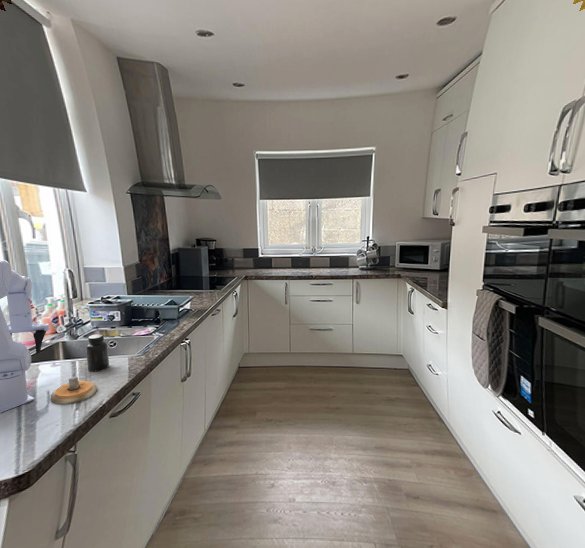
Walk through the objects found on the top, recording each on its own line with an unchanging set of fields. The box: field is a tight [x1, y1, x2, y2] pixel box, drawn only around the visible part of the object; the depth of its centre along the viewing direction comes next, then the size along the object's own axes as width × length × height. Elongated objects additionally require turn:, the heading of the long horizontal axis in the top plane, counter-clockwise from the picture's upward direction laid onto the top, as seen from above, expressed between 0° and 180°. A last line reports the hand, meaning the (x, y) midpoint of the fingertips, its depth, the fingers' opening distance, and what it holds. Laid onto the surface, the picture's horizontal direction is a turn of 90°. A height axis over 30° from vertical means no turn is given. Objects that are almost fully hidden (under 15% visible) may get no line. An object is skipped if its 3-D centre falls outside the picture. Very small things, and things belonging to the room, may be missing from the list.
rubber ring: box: [54, 380, 93, 399], centre depth 106 cm, size 10×10×1 cm
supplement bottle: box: [85, 333, 110, 372], centre depth 124 cm, size 7×7×12 cm
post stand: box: [50, 376, 98, 405], centre depth 106 cm, size 12×12×5 cm
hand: (24, 353), depth 113 cm, fingers open, 7 cm apart
